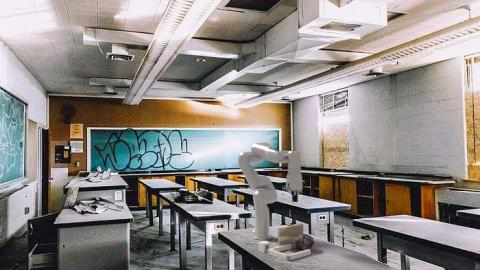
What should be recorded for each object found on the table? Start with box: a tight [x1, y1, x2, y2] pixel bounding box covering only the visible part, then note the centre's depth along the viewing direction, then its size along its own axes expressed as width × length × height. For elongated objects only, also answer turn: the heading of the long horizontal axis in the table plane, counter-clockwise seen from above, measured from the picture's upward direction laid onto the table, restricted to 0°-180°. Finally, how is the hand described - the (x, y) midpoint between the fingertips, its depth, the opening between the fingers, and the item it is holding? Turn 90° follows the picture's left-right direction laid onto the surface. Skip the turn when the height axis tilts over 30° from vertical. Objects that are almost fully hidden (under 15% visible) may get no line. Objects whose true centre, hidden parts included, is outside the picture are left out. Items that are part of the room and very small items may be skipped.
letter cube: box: [257, 240, 271, 253], centre depth 222 cm, size 5×5×5 cm
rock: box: [294, 232, 315, 251], centre depth 223 cm, size 12×9×10 cm
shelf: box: [275, 223, 304, 248], centre depth 231 cm, size 6×20×12 cm, turn 127°
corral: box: [266, 244, 312, 261], centre depth 214 cm, size 17×18×2 cm
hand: (295, 201), depth 230 cm, fingers closed
